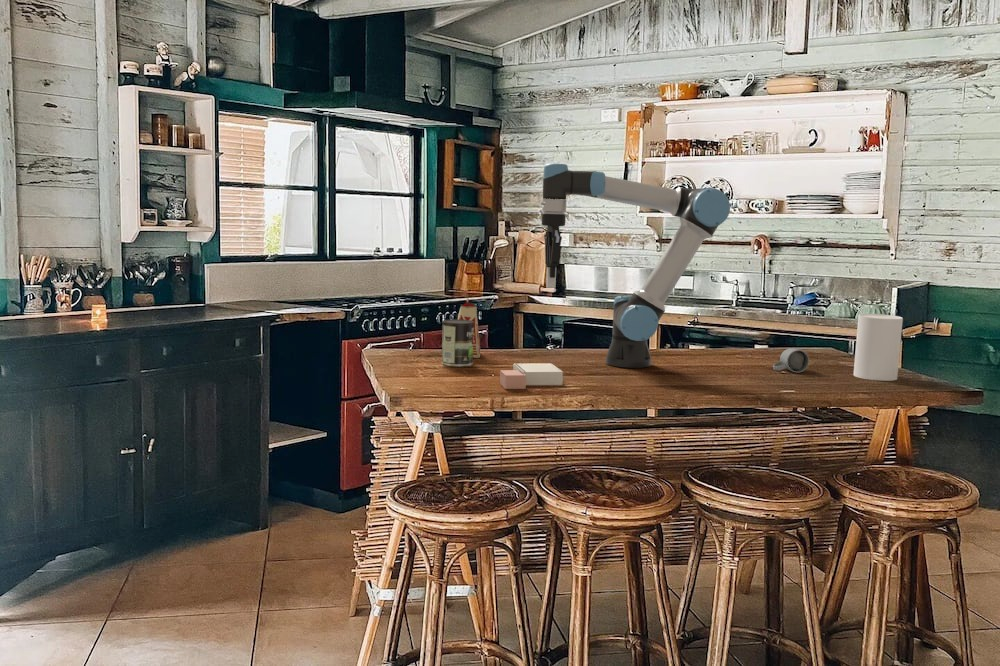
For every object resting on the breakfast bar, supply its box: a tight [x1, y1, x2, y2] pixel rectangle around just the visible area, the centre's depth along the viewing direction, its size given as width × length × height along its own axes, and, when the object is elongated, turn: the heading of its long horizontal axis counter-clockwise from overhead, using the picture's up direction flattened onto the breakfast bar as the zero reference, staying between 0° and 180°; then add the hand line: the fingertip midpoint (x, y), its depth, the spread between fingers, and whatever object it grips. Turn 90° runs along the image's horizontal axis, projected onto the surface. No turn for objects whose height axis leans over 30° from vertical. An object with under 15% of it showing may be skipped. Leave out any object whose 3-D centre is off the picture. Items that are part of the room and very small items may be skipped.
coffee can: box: [441, 318, 474, 367], centre depth 321 cm, size 10×10×14 cm
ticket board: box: [512, 362, 564, 386], centre depth 297 cm, size 12×14×4 cm
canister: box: [853, 313, 904, 382], centre depth 322 cm, size 14×14×20 cm
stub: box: [499, 369, 527, 390], centre depth 287 cm, size 6×8×4 cm
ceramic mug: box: [772, 347, 810, 374], centre depth 329 cm, size 11×8×8 cm
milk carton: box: [457, 298, 481, 359], centre depth 338 cm, size 9×9×20 cm
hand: (550, 287), depth 314 cm, fingers closed
